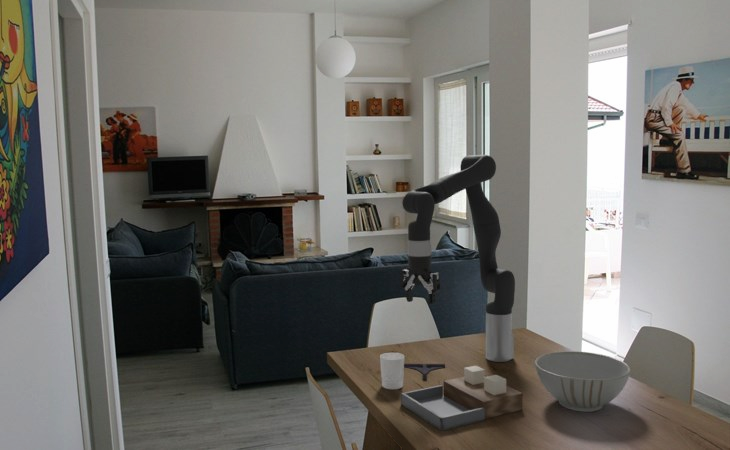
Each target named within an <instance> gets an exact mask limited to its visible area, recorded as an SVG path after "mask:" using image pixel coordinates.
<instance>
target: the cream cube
mask: <svg viewBox="0 0 730 450" xmlns="http://www.w3.org/2000/svg"><path fill="white" fill-rule="evenodd" d="M485 376H486V369H484V368H483V367H480V366H478V365H472V366H467V367H466V366H465V367H463V377H464V381H466V382H468V383H470V384H472V385H474V384H479V383H484V377H485Z"/></svg>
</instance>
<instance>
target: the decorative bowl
mask: <svg viewBox="0 0 730 450" xmlns="http://www.w3.org/2000/svg"><path fill="white" fill-rule="evenodd" d="M534 366H535V370H536V374H537V376H538V379H539V380H540V383H542V385H543V387H544V388H545V390H546V391H547V392H548V393H549V394H550V396H552V397H553V398H554V399H556V400H557V401H559V405H560V406H561V407H563V408H565V409H567V410H571V411H574V412H575V411H576V412H582V413H590V412H591V413H592V412H598V411H600V410H602V409H603V407H604V405H606V404H608V403H611V402H612V401H613V400H615V399H616V398H617V397H618V396H619V395H620V394H621V392H622V391H623V390H624V388H625V386H626V385H627V383H628V380H629V378H630V375H631V367H630V366H629V365H628V364H627V363H626V362H624V361H622V360H620V359H617V358H616V357H613V356H610V355H606V354H605V355H604V354H601V353H594V352H586V351H574V350H573V351H571V350H570V351H569V350H568V351H565V350H564V351H554V352H548V353H544V354H541V355H540V356H538V357H536V358H535V360H534Z"/></svg>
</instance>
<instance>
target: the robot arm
mask: <svg viewBox="0 0 730 450" xmlns="http://www.w3.org/2000/svg"><path fill="white" fill-rule="evenodd" d="M496 171H497V164H496V161H495V159H494V158H493V157H492V156H490V155H488V154H474V155H473V154H471V155H466V156H464V157H463V158H462V160H461V162H460V171H457V172H454V173H451V174H447V175H445V176H443V177H440V178H438V179H435V181H433V182H431V183H429V184H427V185H424V186H422V187H421V186H420V187H417V188H415V189H412V190H410V191H409V192H407V193H406V194H405V196H403V199H402V202H401V203H402V208H403V209H404V210H405V212H407V213H409V214H414V215H415V214H416V215H417V216H416V219H415V220H413V221H410V222H409V223H408V226H407V230H408V231H407V232H408V233H407V235H408V240H407V267H408V269H407V268H406V269H405V268H404V269H401V270H400V288H402V289H404V290H405V298H406V301H407V302H409V303H411V302H413V300H414V299H413V298H414V294H413V292H414V291H413V288H414V287H415V286H418V285H419V286H423V287H424V289H426V290H427V292H428V305H429V306H433V305H435V303H436V293H438V292H441V288H442V287H441V274H440V272H434V273H432V271H431V269H432V244H431V225H432V221H433V217H434V212H435V208H436V205H437V204H440V203H442V202H444V201H446V200H447V199H449V198H451V197H452V196H454V195H456V194H457V193H459V192H461V191H463V190H465V192H466V195H467V199H468V204H469V209H470V213H471V221H472V225H473V231H474V235H475V236H474V237H475V240H476V241H475V242H476V245H477V246H476V247H477V253H478V260H479V272H480V281H481V282H480V283H481V286H482V287H483V289H484V290H485V291H487V292H488V293H492V294H494V299H493V301H491V302H488V303H487V304H486V305H485V359H486V360H487V361H490V362H494V363H495V362H498V363H505V362H509V361H511V360H513V359H514V355H515V353H514V349H515V348H514V347H515V345H514V342H515V334H514V332H512V330H513V329H512V323H513V322H512V321H513V320H512V319H513V318H512V315H513V313H512V312H513V307H514V305H515V294H516V293H515V292H516V290H515V289H516V280H515V275H514V273H513V271H511V270H509V269H504V268H501V267H500V268H499V267H498V266H499V265H498V264H497V257H496V256H497V255H496V251H497V248H498V245H499V242H500V240H501V239H500V238H501V235H502V230H501V224H500V217H499V214H498V212H497V210H496V209H495V207H494V206H493V205H492V204H491V202H490V200H489V199H488V197H487V196H486V195H485V193H484V190H483V187H482V183H483V182H487V181H490V180H492V179H493V178H494V176H495V174H496Z"/></svg>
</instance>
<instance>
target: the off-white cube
mask: <svg viewBox="0 0 730 450" xmlns="http://www.w3.org/2000/svg"><path fill="white" fill-rule="evenodd" d="M506 386H507V379H506V378H505V377H503V376H500V375H498V374H492V375H487V377H484V391H486V392H488V393H490V394H492V395H497V394H501V393H506Z"/></svg>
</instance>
